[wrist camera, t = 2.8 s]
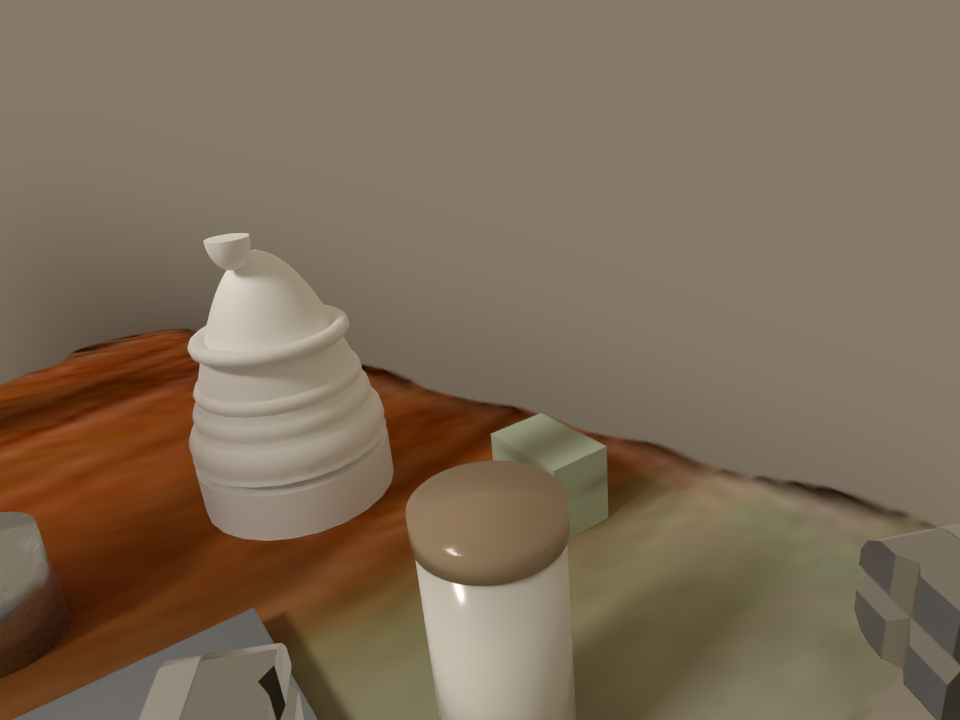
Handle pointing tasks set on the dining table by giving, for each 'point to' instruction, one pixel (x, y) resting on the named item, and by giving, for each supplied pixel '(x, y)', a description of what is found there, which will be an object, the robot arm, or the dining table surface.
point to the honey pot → (281, 405)
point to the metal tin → (27, 595)
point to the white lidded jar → (495, 590)
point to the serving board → (121, 695)
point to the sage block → (561, 464)
